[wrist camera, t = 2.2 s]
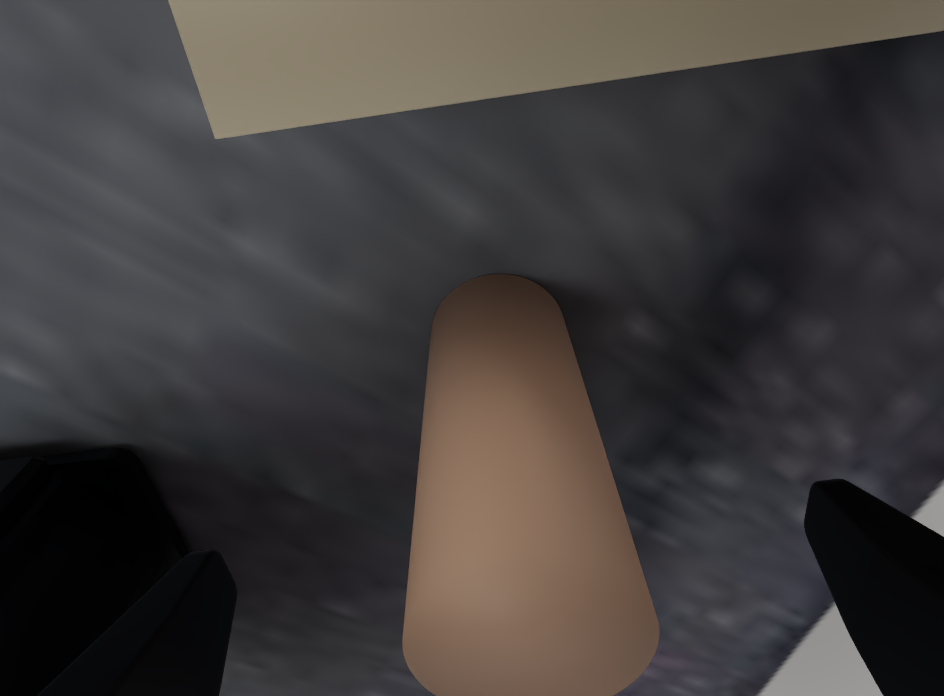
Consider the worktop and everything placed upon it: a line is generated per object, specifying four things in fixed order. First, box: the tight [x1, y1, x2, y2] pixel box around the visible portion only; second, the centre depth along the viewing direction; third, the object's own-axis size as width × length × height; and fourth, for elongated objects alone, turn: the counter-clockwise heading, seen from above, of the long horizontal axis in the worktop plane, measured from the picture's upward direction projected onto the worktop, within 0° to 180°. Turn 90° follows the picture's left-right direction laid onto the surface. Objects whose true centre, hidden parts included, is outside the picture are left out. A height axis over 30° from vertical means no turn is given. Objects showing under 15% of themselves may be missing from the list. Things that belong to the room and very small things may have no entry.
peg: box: [402, 274, 660, 696], centre depth 11 cm, size 3×3×8 cm
